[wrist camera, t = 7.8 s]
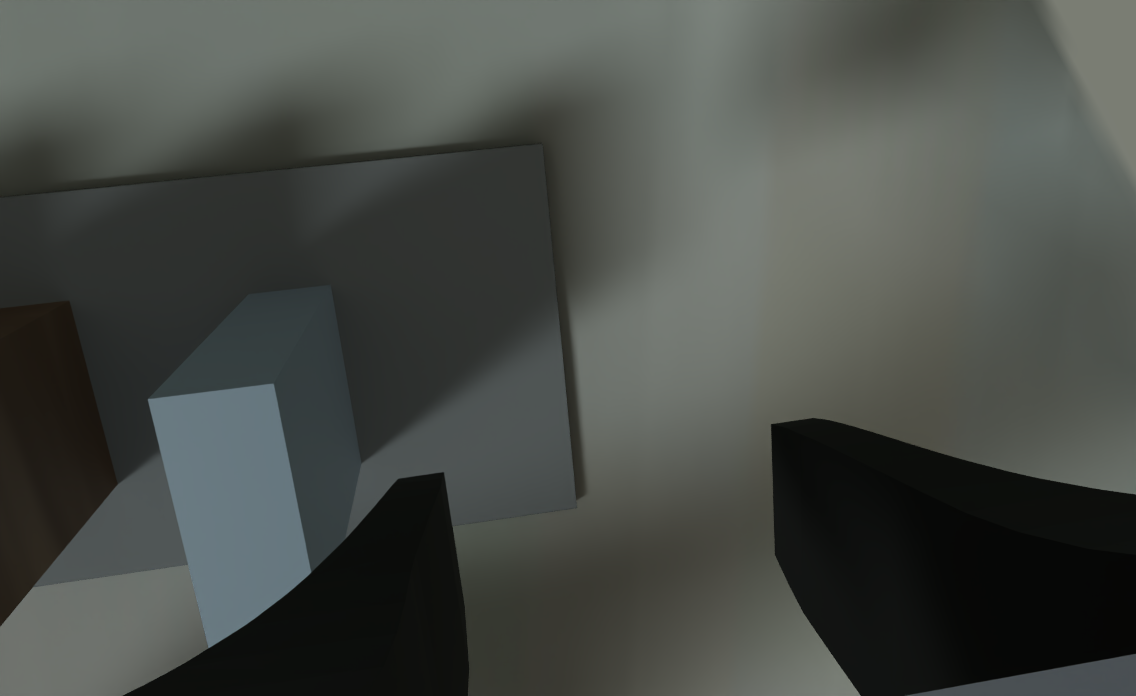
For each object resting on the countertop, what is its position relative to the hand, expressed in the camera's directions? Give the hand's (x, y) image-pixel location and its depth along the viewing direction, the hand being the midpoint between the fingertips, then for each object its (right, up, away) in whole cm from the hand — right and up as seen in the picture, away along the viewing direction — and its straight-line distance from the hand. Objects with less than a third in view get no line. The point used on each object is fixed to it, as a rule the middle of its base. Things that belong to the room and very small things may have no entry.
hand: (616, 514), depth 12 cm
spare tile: (-7, +1, +8) cm, 11 cm away
